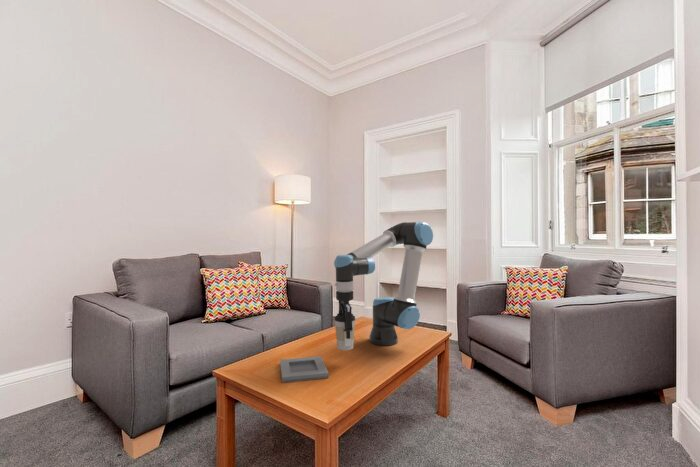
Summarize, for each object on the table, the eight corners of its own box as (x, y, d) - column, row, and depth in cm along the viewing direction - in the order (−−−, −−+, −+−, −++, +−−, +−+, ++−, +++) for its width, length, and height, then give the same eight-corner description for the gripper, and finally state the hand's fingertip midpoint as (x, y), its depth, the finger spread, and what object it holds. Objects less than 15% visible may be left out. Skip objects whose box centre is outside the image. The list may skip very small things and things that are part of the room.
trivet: (320, 360, 149) (320, 356, 149) (328, 377, 132) (328, 372, 132) (280, 364, 145) (280, 359, 144) (282, 382, 127) (282, 377, 127)
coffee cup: (353, 352, 140) (353, 316, 139) (332, 350, 141) (332, 315, 141) (357, 344, 148) (356, 311, 148) (337, 343, 150) (337, 310, 150)
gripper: (331, 286, 154) (332, 335, 154) (341, 296, 133) (342, 351, 134) (347, 285, 156) (347, 333, 156) (359, 294, 135) (360, 349, 135)
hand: (345, 341), depth 145 cm, fingers closed on coffee cup, 8 cm apart
